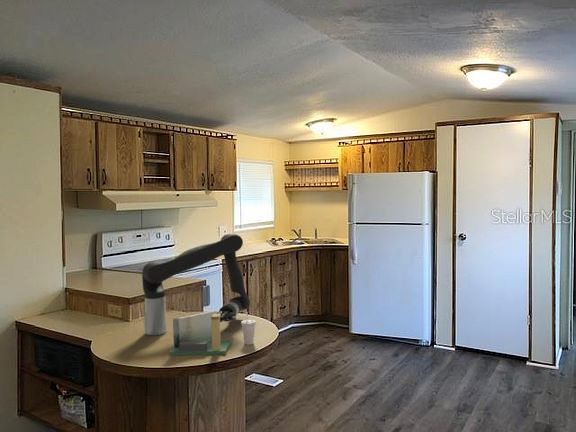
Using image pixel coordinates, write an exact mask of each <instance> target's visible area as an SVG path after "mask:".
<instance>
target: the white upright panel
mask: <svg viewBox="0 0 576 432" xmlns="http://www.w3.org/2000/svg"><path fill="white" fill-rule="evenodd" d="M217 312H218V311H217V310H211V311H206V312H201V313H197V314H192V315H191V314H190V315H185V316H182V317H175V318H172V327H173V328H172V330H173V331H172V333H173V347H174V348H179V344H180V342H203V341H207V340H212V324H211V317H212V315H213V314H217Z"/></svg>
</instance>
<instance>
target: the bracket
mask: <svg viewBox="0 0 576 432" xmlns="http://www.w3.org/2000/svg"><path fill="white" fill-rule="evenodd" d="M220 317H221V314H213V315H212V317H211V324H212V339H211V340H207V341H203V342H180V344H179V348H174V346H173V347H172V348H171V349H170V350H169V356H215V355H216V356H222V355H223V356H225V355H226V354H227V352H228V350H229V348H230V346H231V342H232V341H231V339H228V340H227V339H223V340H222V339H221V322H220Z"/></svg>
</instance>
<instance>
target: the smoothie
mask: <svg viewBox="0 0 576 432" xmlns="http://www.w3.org/2000/svg"><path fill="white" fill-rule="evenodd" d="M248 313H249V312H248V311H246V312H245V314H246V319H243V320H242V321H241V322H240V325H241V327H242V328H241V329H242V333H243V341H244V344H245V345H247V346H250V345H254V341H255V340H254V338H255V329H256V328H255V327H256V325H257V321H256V320H254V319H248V317H249V316H248Z"/></svg>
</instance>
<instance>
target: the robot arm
mask: <svg viewBox="0 0 576 432" xmlns="http://www.w3.org/2000/svg"><path fill="white" fill-rule="evenodd" d="M243 245H244V241H243V238H242V237H241V236H240V235H238V234H236V233H229V234H228V233H227V234H224V235H223V236H222V237H221V239H220V240H219V241H216V242H211V243H207V244H202V245H199V246H196V247H193V248H190V249H187V250H185V251H183V252H182V253H180V254H179V255H178V256H176V257H175V258H173V259H170V260H168V261H165V262H160V263H157V262H148V263H146V264H144V266H143V268H142V273H141V276H142V277H141V279H142V288H143V293H144V307H145V308H144V311H145V313H144V315H143V318H144V319H143V321H144V323H143V324H144V335H147V336H159V335H164V334H166V333H167V315H166V314H167V313H166V308H167V307H166V290H165V289H164V286H163V282H164V281H166V280H168V279H169V278H172V277H174V276H175V275H178V274H180V273H183V272H186V271H190V270H191V269H192V270H193V269H195V268H197V267H199V266H200V267H201V266H203V265H204V264H206V263H209V262H211V261H213V260H215V259H217V258H219V257H221V256H223V257H224V261H225V265H226V269H227V274H228V281H229V287H230V291H231V293H234V294H238V296H233V297H231V298H229V302H227V303H226V304H224V305H223V306H222V307H220V309H219V310H218V311H217V314H221V317H220V323H222V322H223V323H224V322H230V321H233V320H237V315H238V314H239V313H240V312H241V311H243V310H248V309H249V308H250V305H251V301H250V298H249V296H248V293H247V292H246V288H245V284H244V277H243V273H242V270H241V267H240V266H239V263H238V260H237V254H236V253H237V252H238V251H239V250H241V248H242V247H243Z"/></svg>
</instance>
